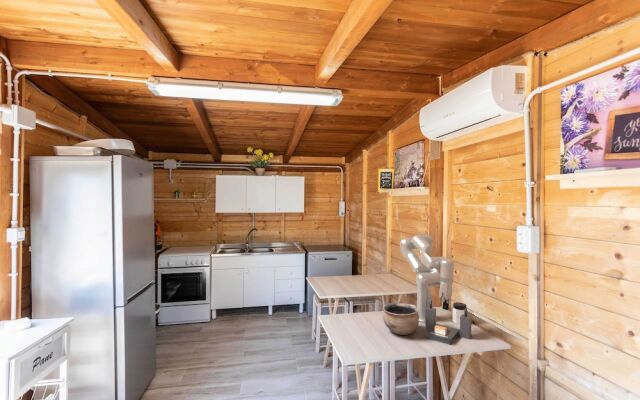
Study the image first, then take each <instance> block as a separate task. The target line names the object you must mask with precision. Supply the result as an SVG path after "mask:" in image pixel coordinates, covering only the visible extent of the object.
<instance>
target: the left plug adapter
mask: <svg viewBox="0 0 640 400" xmlns="http://www.w3.org/2000/svg"><path fill="white" fill-rule="evenodd" d="M424 323H425V329H429V330H430V329H431V328H432V327H433V326H435V325H436V324H437V308H435V307H433V299H432V300H430V307H428V308H426V309H425V322H424Z"/></svg>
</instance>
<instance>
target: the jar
mask: <svg viewBox="0 0 640 400" xmlns="http://www.w3.org/2000/svg"><path fill="white" fill-rule="evenodd" d="M452 305H453V306H452V313H451V314H452V320H451V321H452V322H454V324H456V325H460V316H461V315H464V308H465V307H466V308H467V304H466V303H463V302H454V303H453V304H452Z"/></svg>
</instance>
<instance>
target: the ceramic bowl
mask: <svg viewBox="0 0 640 400" xmlns="http://www.w3.org/2000/svg"><path fill="white" fill-rule="evenodd" d="M382 310H383V314H382V319H383V324H384V325H385V326H386V328H388V329H389V330H390V331H391V332H392V333H394V334H397V335H402V336H408V335H410V334H412V333H414V332H415V330H417V328H418V327H419V324H420V321H419V315H418V312H419V309H418V310H417V305H414V304H411V303H403V302H389V303H387V304H384V305H383V306H382Z"/></svg>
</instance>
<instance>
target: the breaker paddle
mask: <svg viewBox="0 0 640 400" xmlns="http://www.w3.org/2000/svg"><path fill="white" fill-rule="evenodd" d="M435 333H438V334H442V335H446V334H447V328H445V327H441V326H437V325H436V326H435Z"/></svg>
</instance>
